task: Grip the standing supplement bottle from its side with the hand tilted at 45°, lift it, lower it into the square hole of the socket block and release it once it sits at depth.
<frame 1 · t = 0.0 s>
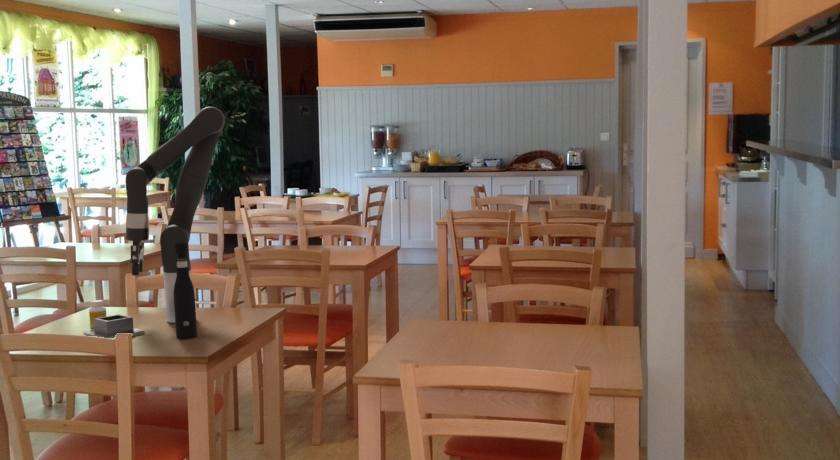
hand: (137, 273, 335), 17 cm above the table, tool pointing down, fingers open, 8 cm apart
square socket: (114, 335, 318), on the table
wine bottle: (186, 337, 310), on the table
supplement bottle: (99, 330, 329), on the table
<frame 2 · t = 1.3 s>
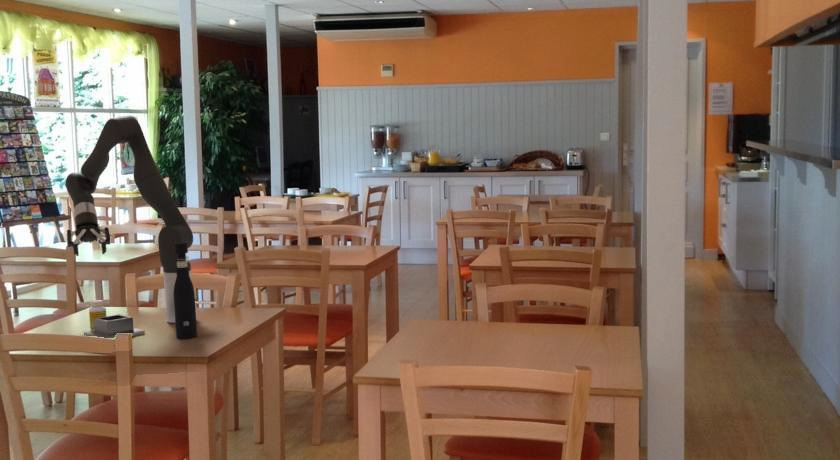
hand: (90, 253, 337), 24 cm above the table, tool tilted 45°, fingers open, 8 cm apart
nothing on the table moved.
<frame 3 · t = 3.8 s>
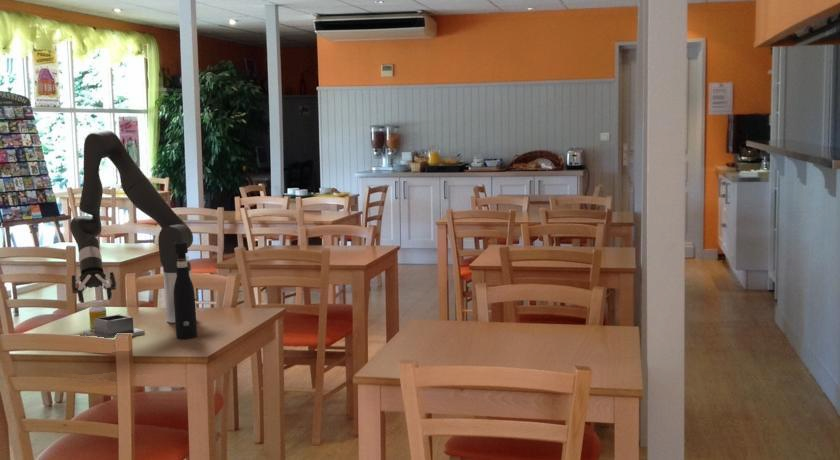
hand: (95, 300, 332), 9 cm above the table, tool tilted 45°, fingers open, 8 cm apart
nothing on the table moved.
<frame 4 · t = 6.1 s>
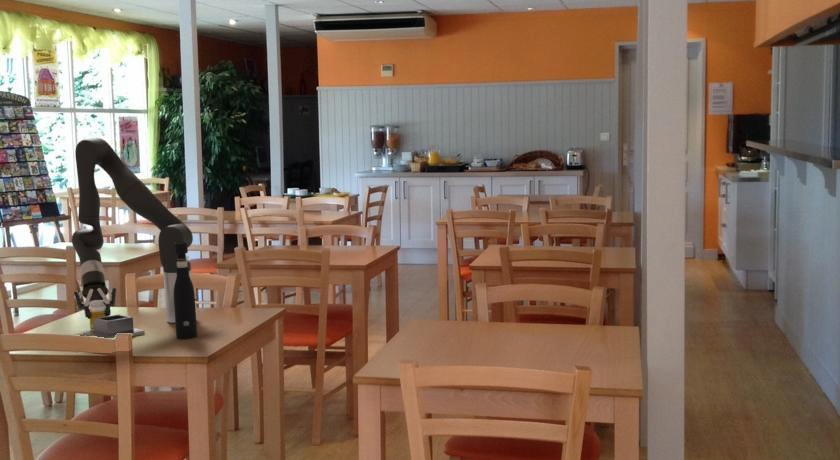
hand: (98, 316, 327), 5 cm above the table, tool tilted 45°, fingers closed on supplement bottle, 5 cm apart
supplement bottle: (99, 330, 329), on the table, touching gripper
everything else where it was.
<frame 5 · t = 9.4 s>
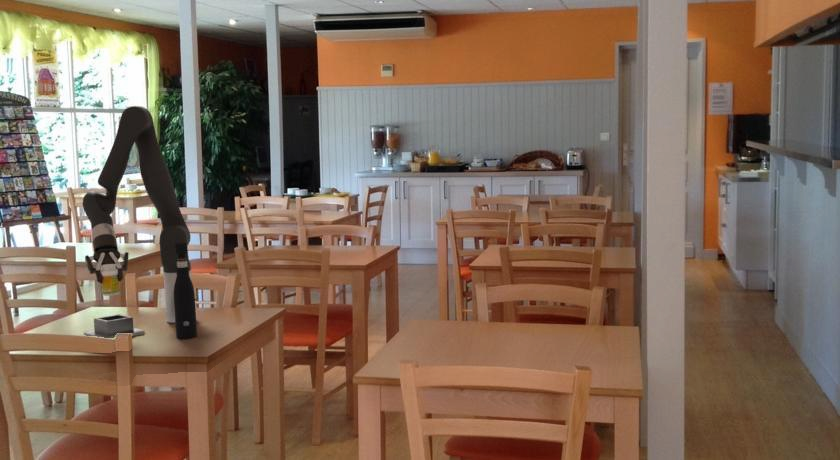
hand: (110, 280, 315), 18 cm above the table, tool tilted 45°, fingers closed on supplement bottle, 5 cm apart
supplement bottle: (111, 295, 317), point 13 cm above the table, touching gripper
everything else where it was.
when the fingers open (7 cm above the table, at t = 13.0 s): supplement bottle drops 1 cm, resting on square socket.
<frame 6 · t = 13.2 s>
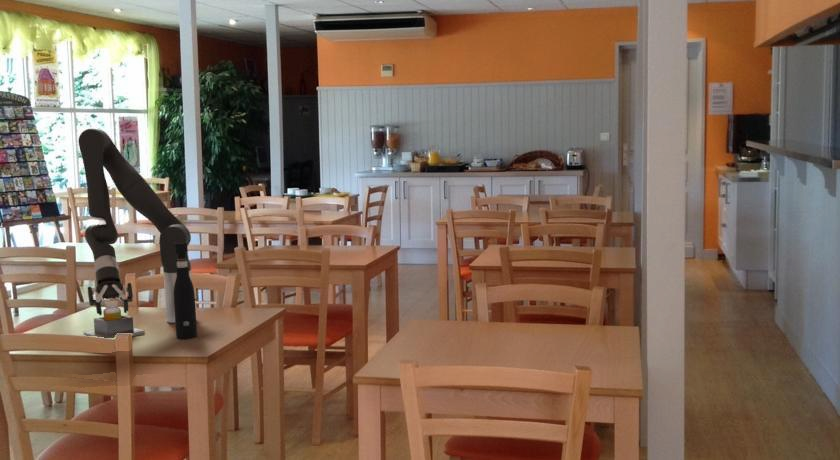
hand: (113, 312, 316), 8 cm above the table, tool tilted 45°, fingers open, 7 cm apart
supplement bottle: (113, 332, 318), point 1 cm above the table, touching square socket
everything else where it was.
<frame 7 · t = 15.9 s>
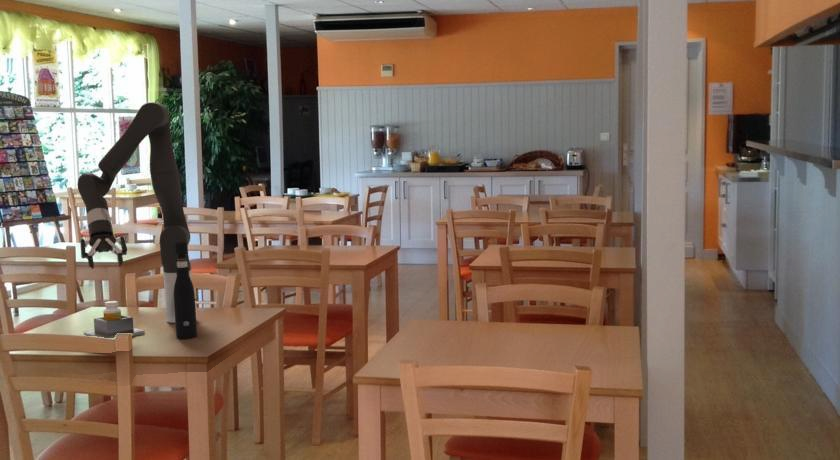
hand: (106, 266, 318), 22 cm above the table, tool tilted 40°, fingers open, 8 cm apart
nothing on the table moved.
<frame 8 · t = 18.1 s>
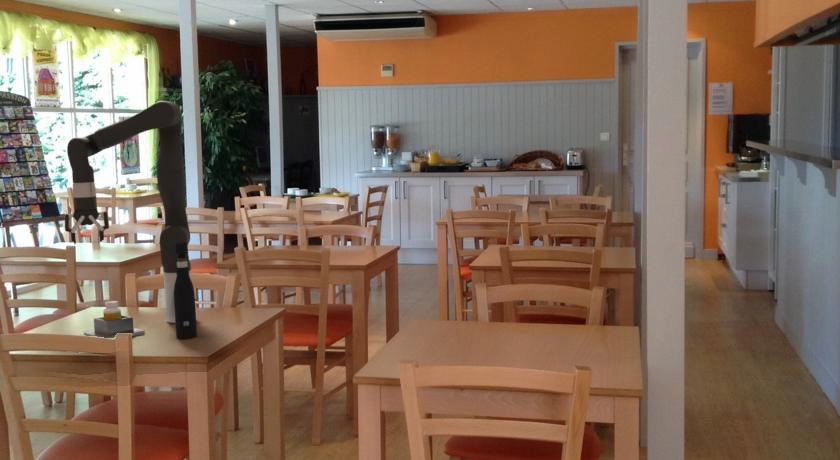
hand: (88, 242, 338), 28 cm above the table, tool pointing down, fingers open, 8 cm apart
nothing on the table moved.
at the end: supplement bottle 0.2 cm off-centre on the square socket, point 1.0 cm above the square socket's base; supplement bottle tilted 0°; the gripper is holding nothing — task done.
